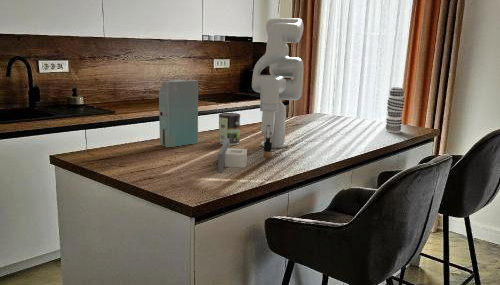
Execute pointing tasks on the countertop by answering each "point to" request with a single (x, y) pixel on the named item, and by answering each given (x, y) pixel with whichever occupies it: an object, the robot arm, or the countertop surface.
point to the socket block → (235, 157)
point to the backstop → (223, 155)
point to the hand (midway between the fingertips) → (267, 150)
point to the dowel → (267, 154)
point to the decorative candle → (395, 110)
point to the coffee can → (229, 128)
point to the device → (178, 113)
